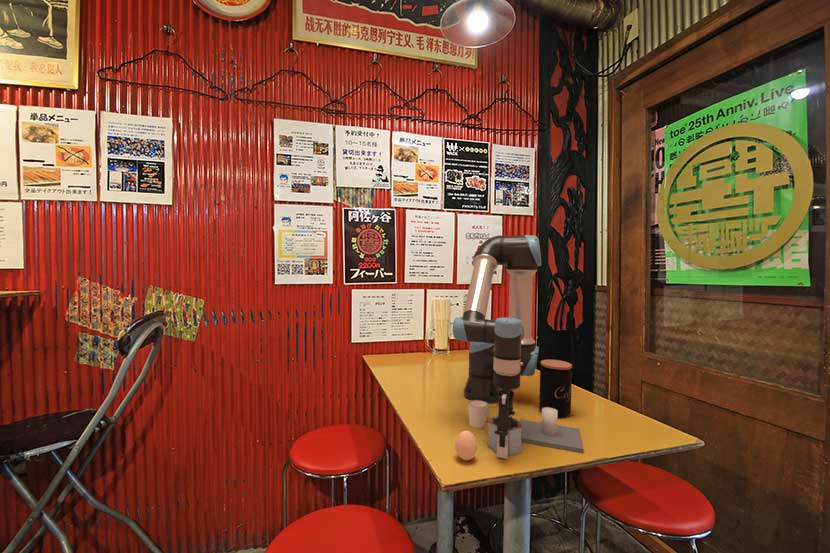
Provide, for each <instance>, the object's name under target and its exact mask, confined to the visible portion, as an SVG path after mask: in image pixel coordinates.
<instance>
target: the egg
mask: <svg viewBox="0 0 830 553" xmlns="http://www.w3.org/2000/svg"><path fill="white" fill-rule="evenodd" d="M454 447H455V452H456V455H457V456H458V457H459V458H460V459H461V460H463V461H470V460H472V459H473V458H474V457H475V456H476V454H477V451H478V443H477V440H476V437H475V435H474V434H473V433H472V432H471V431H469V430H463V431H461V432H460V433H459V434H458V436H457V437H456V440H455V445H454Z"/></svg>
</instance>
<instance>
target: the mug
mask: <svg viewBox="0 0 830 553" xmlns="http://www.w3.org/2000/svg"><path fill="white" fill-rule="evenodd" d="M497 424H498V416H493V417H490V418H489V420H487V421H485V422H484V428H483V432H486V433H487V434H488V436H487V437H488V438H487V440H488V441H487V447H488V449H489V450H492V451H493V453H495V454H497V434H495V431H497ZM500 430H501V429H500ZM507 432H508V454H507V456H514V455H518V454H522V453H521V452H522V443H523V442H522V423H521V422H520V420H518V419H516V418H515V417H512V418H511V417H509V418H508V431H507Z"/></svg>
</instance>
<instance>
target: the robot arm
mask: <svg viewBox="0 0 830 553" xmlns="http://www.w3.org/2000/svg"><path fill="white" fill-rule="evenodd" d="M540 247H541V246H540V240H539V237H538V236H537V235H533V234H532V235H530V234H529V235H528V234H522V235H521V234H519V235H518V234H517V235H515V234H513V235H501V234H499V235H495V236H492V237H489V238H488V239H486V240H485V241H484V242H483V243H481V244H480V246H478V248H477V249H476V251H475V253H474V255H473V258H472V262H471V263H472V266H473V269H472V274H471V278H470V283H469V286H468V291H467V295H466V298H465V303H464V308H463V313H462V316H459V317H455V318H454V320H453V323H452V335H453V339H455V340H457V341H463V342H470V343H469V349H468V377H467V380H466V382H465V386H464V388H463V396H464V398H466V399H467V400H468V401H471V400H481V401H485V402H487V403H488V404H491V403H493V404H494V403H497V402H498V406H497V407H498V411H497V417H498V424H497V431H495V434H497V453H496V458H501V459H505V460H506V459H508V455H507V454H508V432H507V431H508V418H509V417H511V418H513V416H515V415H516V414H515V413H516V412H515V411H514V395H515V393H514V392H515V391H513V390H517V389H519V388H520V387H521V377H532V376H535V373H536V369H537V368H536V367H537V362H538V356H539V349H540V347H539V346H537V345H536V341H535V339H534V338H533V337H532V323H533V322H532V320H533V318H532V317H533V291H534V290H533V288H534V287H533V285H534V282H533V281H534V275H535V274H536V272H538V267H541V266H542V257H541V256H542V254H541V248H540ZM498 266H505V270H506V272H507V273H508V275H509V289H508V290H509V295H508V296H509V297H508V317H498V318H496V319H486V317H487V312H488V304H489V299H490V294H491V289H492V283H493V276H494V272H495V271H496V270H497V268H498ZM500 429H501V430H500Z"/></svg>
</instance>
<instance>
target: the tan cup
mask: <svg viewBox="0 0 830 553" xmlns="http://www.w3.org/2000/svg"><path fill="white" fill-rule="evenodd" d="M489 407H490V403H487V402H485V401H481V400H468V402H467V410H468V411H467V412H468V424H469V426H470V427H472V428H475V429H484V422H485V421H487V422H488V414H489Z"/></svg>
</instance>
